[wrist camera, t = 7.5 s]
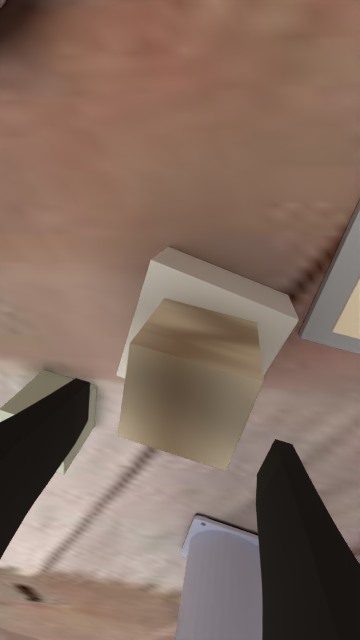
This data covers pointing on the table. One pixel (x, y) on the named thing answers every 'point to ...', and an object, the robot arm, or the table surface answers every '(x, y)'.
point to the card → (339, 296)
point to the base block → (213, 299)
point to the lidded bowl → (2, 2)
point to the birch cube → (191, 382)
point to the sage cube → (42, 388)
